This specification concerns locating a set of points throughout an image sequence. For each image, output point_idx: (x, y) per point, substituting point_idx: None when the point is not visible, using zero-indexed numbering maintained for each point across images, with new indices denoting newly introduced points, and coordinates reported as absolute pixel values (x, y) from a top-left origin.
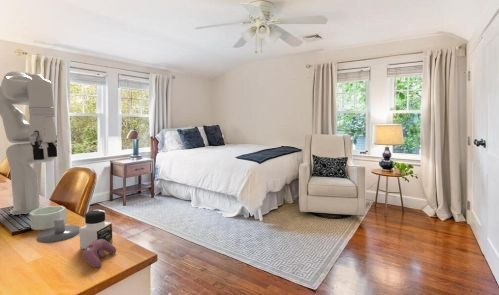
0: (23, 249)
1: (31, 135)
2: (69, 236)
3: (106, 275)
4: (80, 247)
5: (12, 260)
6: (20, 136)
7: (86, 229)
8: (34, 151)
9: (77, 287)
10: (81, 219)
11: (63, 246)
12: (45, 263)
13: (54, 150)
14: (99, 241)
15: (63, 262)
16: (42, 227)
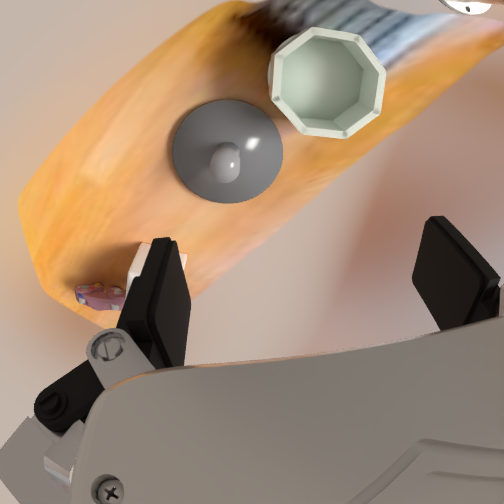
0: (131, 116)
1: (23, 502)
2: (196, 193)
3: (74, 307)
4: (140, 244)
5: (82, 134)
6: None
7: (126, 287)
8: (121, 319)
9: (45, 285)
10: (347, 161)
11: (149, 202)
12: (80, 209)
13: (439, 313)
14: (104, 309)
15: (89, 237)
16: (269, 82)
